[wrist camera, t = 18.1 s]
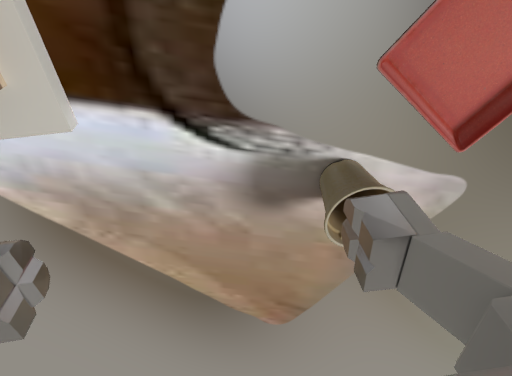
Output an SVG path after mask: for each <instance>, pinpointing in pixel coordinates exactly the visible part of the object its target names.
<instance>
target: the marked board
mask: <svg viewBox="0 0 512 376" xmlns="http://www.w3.org/2000/svg"><path fill="white" fill-rule="evenodd" d="M0 73H1V75H2V77H3V78H4V80H5V82H6V84H7V86H6V87H4V88H3V89H1V90H0V140H1V139H10V138H19V137H28V136H36V135H45V134H54V133H63V132H72V131H73V129H74V128H75V127H76V126H77V125H78V122H77V120H76V118H75V115H74V113H73V111H72V108H71V106H70V104H69V101H68V99H67V97H66V94H65V92H64V90H63V87H62V85H61V83H60V80H59V78H58V76H57V73H56V71H55V69H54V66H53V64H52V62H51V59H50V57H49V55H48V53H47V50H46V48H45V46H44V43H43V41H42V39H41V36H40V34H39V32H38V29H37V27H36V25H35V22H34V20H33V18H32V15H31V13H30V11H29V8H28V6H27V4H26V1H25V0H0Z"/></svg>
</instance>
